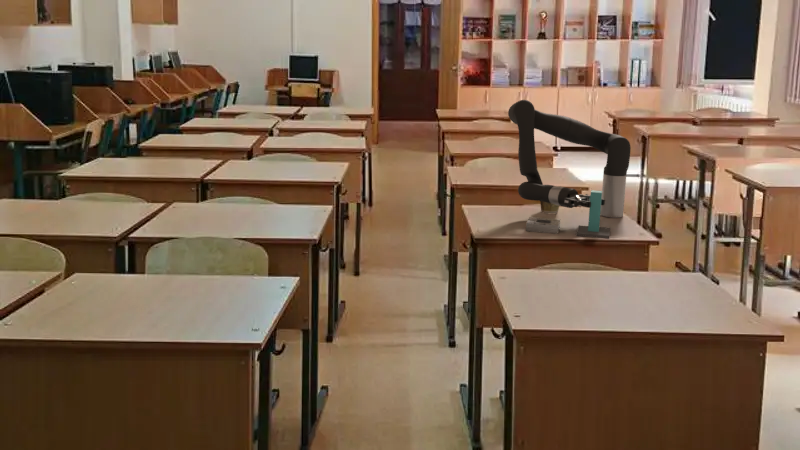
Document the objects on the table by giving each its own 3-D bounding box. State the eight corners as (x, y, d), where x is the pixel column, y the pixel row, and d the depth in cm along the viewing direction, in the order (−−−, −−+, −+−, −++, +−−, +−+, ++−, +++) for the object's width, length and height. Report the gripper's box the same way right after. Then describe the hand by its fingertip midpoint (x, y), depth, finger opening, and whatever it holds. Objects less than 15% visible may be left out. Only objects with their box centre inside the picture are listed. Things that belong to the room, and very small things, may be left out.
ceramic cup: (557, 215, 383) (559, 191, 381) (534, 212, 388) (535, 189, 385) (566, 210, 395) (568, 186, 393) (543, 207, 399) (545, 184, 397)
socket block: (529, 224, 365) (529, 216, 364) (560, 226, 362) (560, 219, 362) (525, 230, 354) (526, 223, 353) (557, 233, 351) (558, 225, 350)
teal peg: (588, 228, 356) (591, 190, 353) (599, 229, 355) (602, 190, 352) (587, 231, 352) (590, 192, 349) (598, 232, 351) (601, 192, 348)
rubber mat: (578, 227, 362) (578, 225, 362) (610, 230, 359) (610, 227, 359) (576, 235, 348) (576, 233, 348) (609, 238, 346) (609, 235, 346)
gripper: (552, 189, 357) (586, 195, 345) (575, 185, 366) (609, 191, 355) (550, 208, 359) (585, 215, 347) (574, 204, 368) (608, 211, 356)
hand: (597, 203), depth 351 cm, fingers open, 8 cm apart
